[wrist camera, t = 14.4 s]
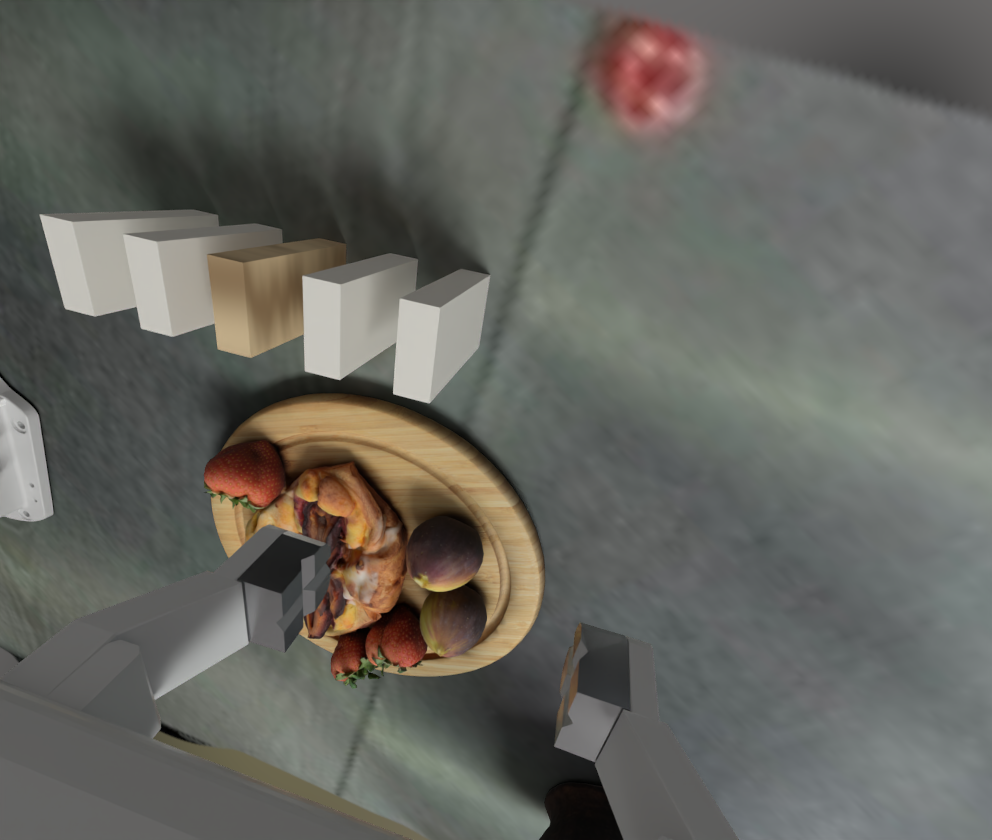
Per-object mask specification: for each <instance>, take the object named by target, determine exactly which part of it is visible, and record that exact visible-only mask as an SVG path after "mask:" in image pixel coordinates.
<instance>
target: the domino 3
mask: <svg viewBox="0 0 992 840" xmlns="http://www.w3.org/2000/svg"><path fill="white" fill-rule="evenodd" d="M207 260H208V269H209V277H210V286H211V295H212V303H213V312H214V321H215V329H216V338H217V346H218V349H219V350H223V351H226V352H230V353H234V354H238V355H241V356H245V357H249V358H252V357H254V356H256V355H258V354H261V353H263V352H265V351H267V350H270V349H272V348H274V347H276V346H279V345H281V344H283V343H285V342H287V341H290V340H292V339H294V338H296V337H299V336H301V335H303V334H304V316H303V280H302V276H303V275H307V274H311V273H315V272H319V271H322V270H326V269H330V268H334V267H338V266H342V265H346V244H343V243H339V242H335V241H330V240H326V239H321V238H316V239H309V240H303V241H296V242H289V243H282V244H275V245H268V246H261V247H254V248H247V249H240V250H233V251H226V252H219V253H212V254H207Z"/></svg>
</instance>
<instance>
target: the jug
mask: <svg viewBox="0 0 992 840" xmlns="http://www.w3.org/2000/svg"><path fill="white" fill-rule="evenodd" d="M544 803H545V808H546V810H547V813H548V816H549V819H550V826H549V827H548V828H547V830H546V831H545V832H544V834H543V835H542V836H541V838H540V839H539V840H623V837H622V834H621V832H620V829H619V827H618V824H617V821H616V819H615V816H614V814H613V811H612V808H611V806H610V803H609V801H608V798H607V795H606V793H605V790H604V788H603V787H602V786H595V785H591V784H586V783H575V782H569V783H564V784H559V785H557V786H556V787H553V788H552V789H550V790H549V792H548V793H547V795H546V798H545V802H544Z"/></svg>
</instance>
